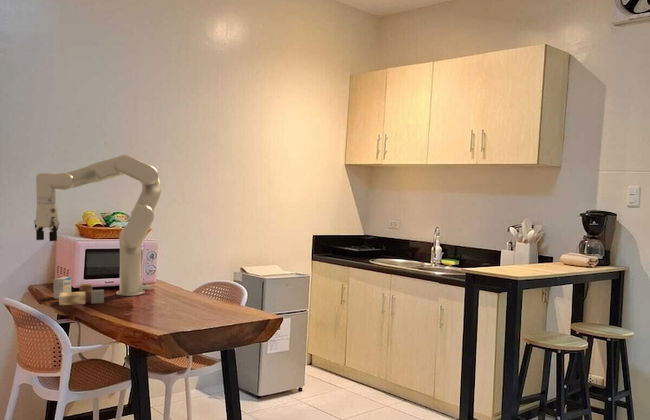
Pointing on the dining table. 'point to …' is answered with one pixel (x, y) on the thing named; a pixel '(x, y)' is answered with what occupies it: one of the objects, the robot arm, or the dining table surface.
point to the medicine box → (61, 286)
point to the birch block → (72, 298)
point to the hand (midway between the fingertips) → (46, 240)
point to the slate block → (97, 296)
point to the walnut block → (86, 290)
